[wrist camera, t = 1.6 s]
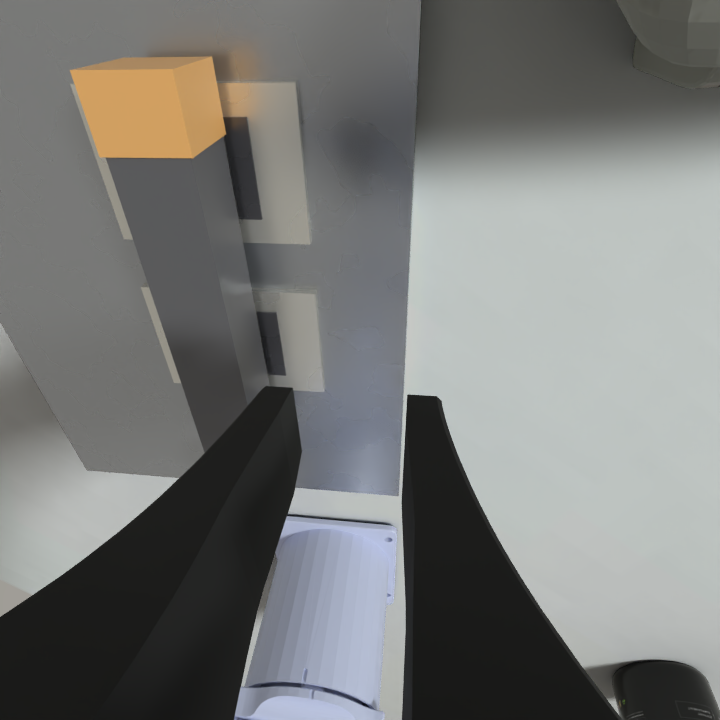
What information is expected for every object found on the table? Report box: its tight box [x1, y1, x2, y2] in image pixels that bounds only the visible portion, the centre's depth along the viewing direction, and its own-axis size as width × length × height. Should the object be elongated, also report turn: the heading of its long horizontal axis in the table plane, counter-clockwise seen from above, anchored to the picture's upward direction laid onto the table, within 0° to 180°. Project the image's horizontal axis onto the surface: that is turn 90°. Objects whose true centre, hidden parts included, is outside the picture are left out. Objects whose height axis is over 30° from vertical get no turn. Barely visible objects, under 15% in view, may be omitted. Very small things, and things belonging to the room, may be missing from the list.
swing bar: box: [70, 56, 269, 453], centre depth 17 cm, size 14×3×3 cm, turn 2°
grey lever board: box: [0, 0, 422, 496], centre depth 19 cm, size 22×18×5 cm
